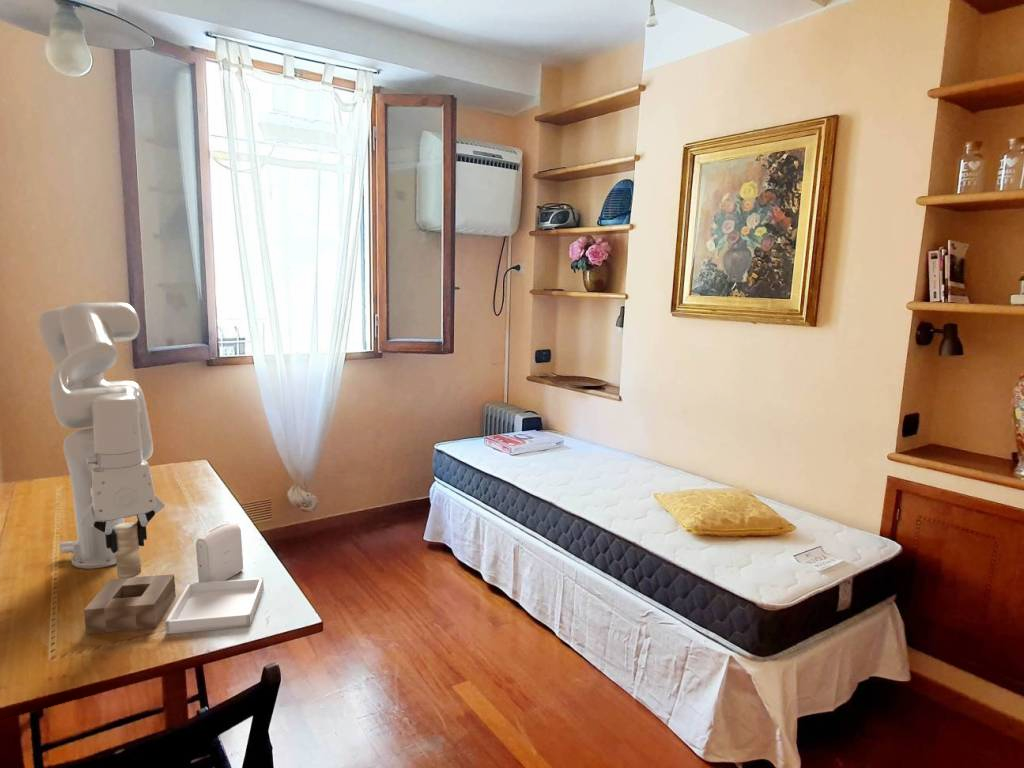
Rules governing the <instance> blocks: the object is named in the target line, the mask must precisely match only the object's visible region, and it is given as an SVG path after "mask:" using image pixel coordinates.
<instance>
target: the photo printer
mask: <svg viewBox="0 0 1024 768" xmlns="http://www.w3.org/2000/svg"><path fill="white" fill-rule="evenodd" d="M195 552H196V565H197V566H196V567H197V575H198V577H197V578H198V583H199V582H212V581H226V580H228V579H230V578H232V577H234V576H235V575H237V574H239V573H240V572H241V571H242V570H244V562H243V561H244V559H243V557H244V556H243V543H242V532H241V528H240V526H239V524H238V523H234V522H226V523H225V522H224V523H221V524H218V525H216V526H213V527H211V528H210V529H208V530H207V531H205V532H204V533H203V534H201V536H199V537H198V538H197V540H196V542H195Z"/></svg>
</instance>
